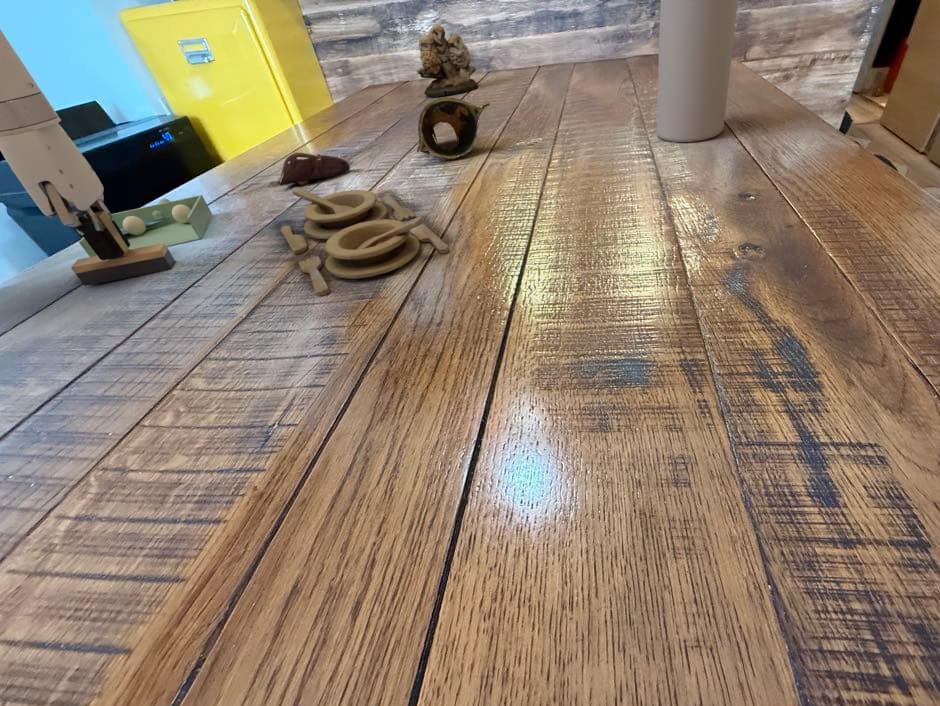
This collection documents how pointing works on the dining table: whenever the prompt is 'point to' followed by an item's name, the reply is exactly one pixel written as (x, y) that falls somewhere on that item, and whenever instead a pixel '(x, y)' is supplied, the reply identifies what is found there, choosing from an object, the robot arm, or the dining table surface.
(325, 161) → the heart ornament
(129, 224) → the ball
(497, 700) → the dining table surface
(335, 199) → the tableware set
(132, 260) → the brush
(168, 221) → the dustpan
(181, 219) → the ball
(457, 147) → the pot
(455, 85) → the owl figurine
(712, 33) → the cylinder vase
